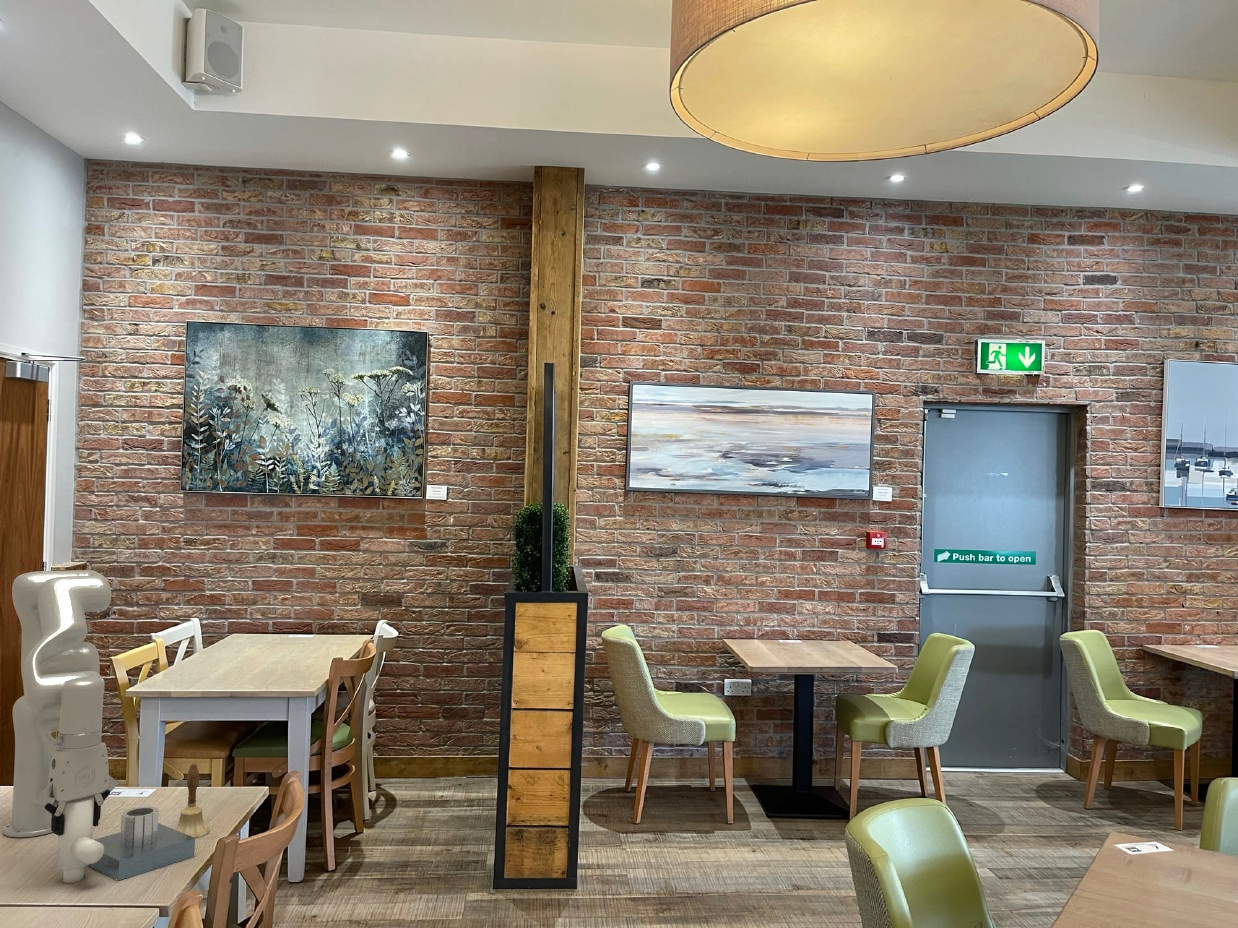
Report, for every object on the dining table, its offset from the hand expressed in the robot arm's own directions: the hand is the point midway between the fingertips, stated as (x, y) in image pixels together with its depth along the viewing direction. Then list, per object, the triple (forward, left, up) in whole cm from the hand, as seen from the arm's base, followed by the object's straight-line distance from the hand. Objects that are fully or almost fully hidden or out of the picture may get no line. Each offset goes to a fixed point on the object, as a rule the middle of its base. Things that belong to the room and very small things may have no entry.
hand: (75, 828), depth 181 cm
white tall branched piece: (+2, 0, -10) cm, 10 cm away
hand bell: (-6, +28, -10) cm, 30 cm away
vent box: (0, +13, -10) cm, 16 cm away
